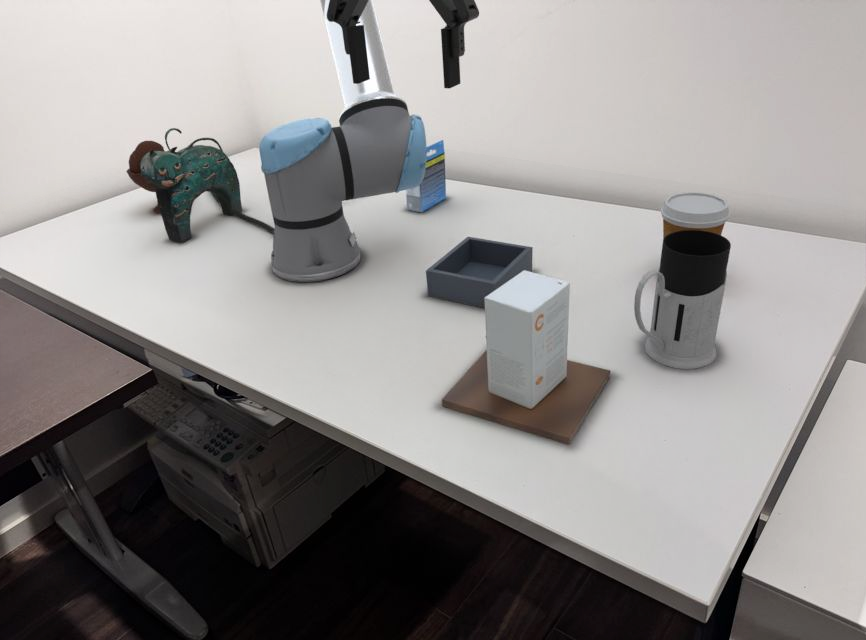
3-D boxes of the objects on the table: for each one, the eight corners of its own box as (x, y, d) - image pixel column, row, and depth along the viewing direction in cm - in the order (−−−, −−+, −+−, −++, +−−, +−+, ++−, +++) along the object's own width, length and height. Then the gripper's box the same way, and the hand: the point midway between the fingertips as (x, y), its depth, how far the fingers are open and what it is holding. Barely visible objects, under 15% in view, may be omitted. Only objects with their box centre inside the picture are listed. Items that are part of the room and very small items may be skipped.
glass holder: (730, 351, 85) (752, 242, 77) (657, 395, 79) (672, 281, 71) (673, 325, 92) (688, 221, 83) (601, 363, 85) (609, 256, 77)
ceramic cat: (178, 247, 127) (146, 141, 116) (155, 242, 130) (122, 138, 119) (251, 210, 141) (228, 113, 130) (228, 207, 144) (204, 111, 133)
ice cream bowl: (203, 203, 147) (184, 134, 139) (161, 221, 139) (139, 149, 131) (171, 197, 152) (152, 130, 144) (130, 214, 144) (106, 144, 136)
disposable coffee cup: (722, 292, 98) (737, 215, 91) (654, 290, 100) (664, 214, 93) (713, 264, 106) (726, 191, 99) (650, 262, 108) (659, 190, 101)
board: (441, 406, 80) (441, 399, 79) (493, 348, 90) (493, 341, 89) (569, 444, 73) (569, 437, 72) (610, 376, 83) (610, 370, 82)
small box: (523, 361, 85) (524, 268, 78) (567, 377, 81) (572, 281, 74) (486, 392, 80) (482, 296, 73) (531, 411, 76) (532, 312, 69)
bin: (427, 295, 104) (425, 270, 101) (468, 260, 113) (467, 236, 111) (495, 310, 98) (494, 284, 96) (532, 272, 108) (532, 247, 106)
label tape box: (432, 195, 141) (427, 136, 134) (448, 198, 139) (444, 139, 132) (406, 210, 135) (400, 149, 128) (422, 213, 133) (417, 151, 126)
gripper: (278, -111, 76) (309, 85, 88) (472, -134, 65) (480, 95, 76) (319, -112, 81) (344, 73, 93) (505, -134, 70) (508, 81, 81)
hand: (405, 84), depth 85 cm, fingers open, 13 cm apart
